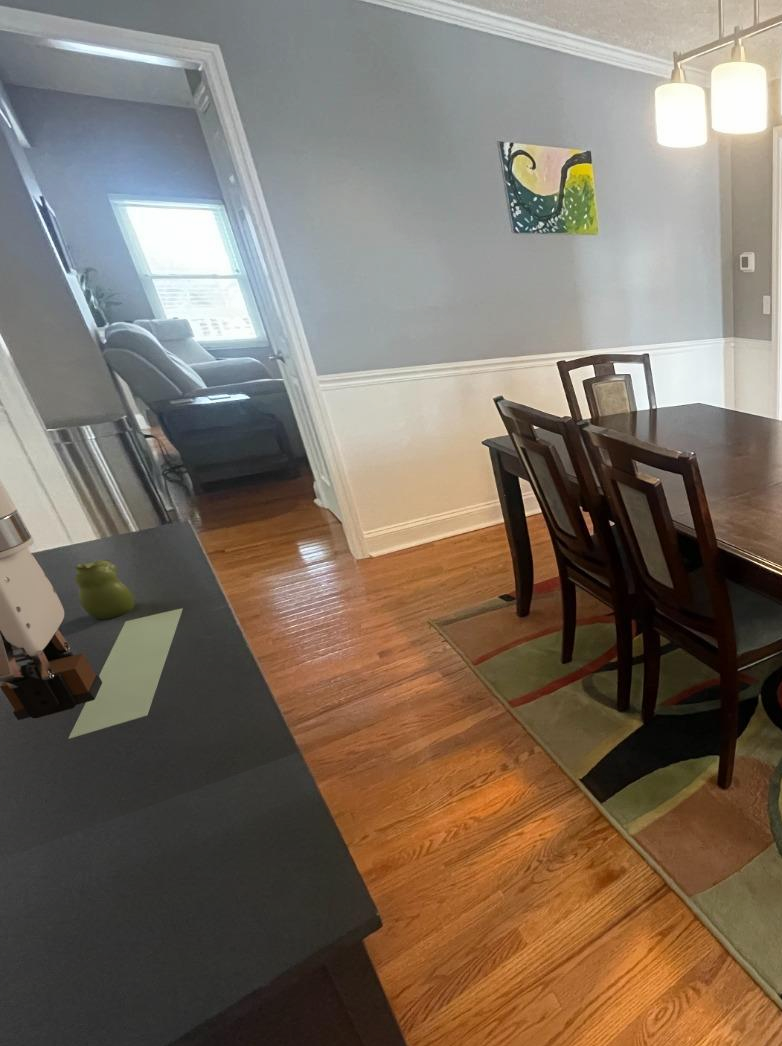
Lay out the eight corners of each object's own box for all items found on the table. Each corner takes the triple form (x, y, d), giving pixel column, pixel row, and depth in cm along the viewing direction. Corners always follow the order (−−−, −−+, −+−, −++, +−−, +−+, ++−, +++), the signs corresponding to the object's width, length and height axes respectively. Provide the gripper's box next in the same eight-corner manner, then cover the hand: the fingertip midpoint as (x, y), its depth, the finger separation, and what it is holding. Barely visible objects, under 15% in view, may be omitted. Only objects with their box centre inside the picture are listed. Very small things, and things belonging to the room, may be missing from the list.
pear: (86, 629, 92) (54, 572, 88) (101, 614, 96) (71, 558, 92) (134, 620, 94) (104, 563, 90) (146, 605, 98) (118, 551, 94)
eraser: (17, 720, 59) (-4, 688, 57) (29, 701, 62) (9, 669, 60) (94, 700, 62) (76, 668, 60) (102, 682, 65) (85, 651, 63)
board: (71, 745, 69) (67, 738, 68) (128, 626, 92) (125, 621, 92) (150, 721, 72) (147, 715, 72) (185, 613, 96) (182, 607, 96)
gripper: (-58, 520, 58) (34, 673, 66) (-151, 586, 46) (-24, 764, 54) (51, 505, 62) (127, 651, 70) (-8, 561, 50) (92, 731, 58)
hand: (60, 698), depth 62 cm, fingers closed on eraser, 3 cm apart
